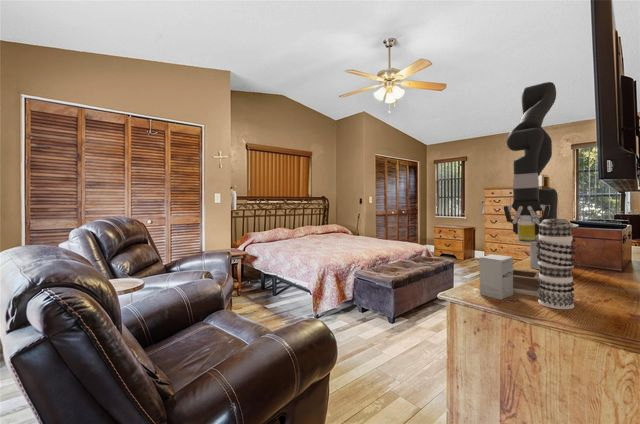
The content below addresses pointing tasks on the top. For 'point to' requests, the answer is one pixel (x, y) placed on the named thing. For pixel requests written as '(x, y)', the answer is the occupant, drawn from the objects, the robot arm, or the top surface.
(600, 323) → the top surface
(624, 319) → the top surface
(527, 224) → the supplement bottle
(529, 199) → the robot arm
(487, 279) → the supplement box
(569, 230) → the decorative candle
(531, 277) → the socket block
